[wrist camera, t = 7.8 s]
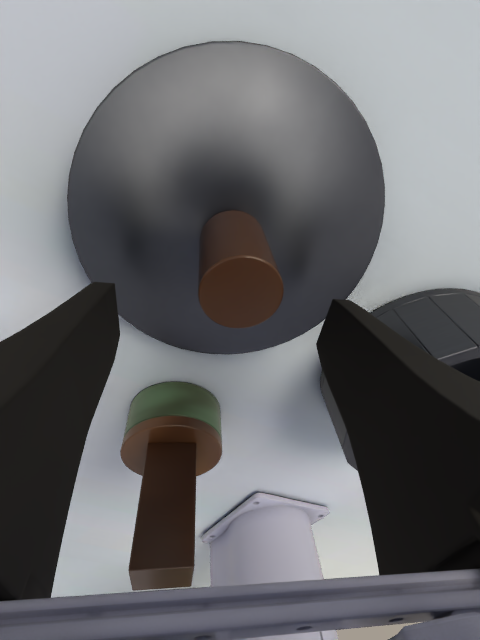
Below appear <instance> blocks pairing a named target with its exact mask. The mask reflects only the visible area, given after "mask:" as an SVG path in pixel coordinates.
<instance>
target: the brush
mask: <svg viewBox="0 0 480 640" xmlns="http://www.w3.org/2000/svg"><path fill="white" fill-rule="evenodd" d="M120 452H121V458H122V461H123V463H124V464H125V465H126V466H127V467H128V468H129V469H130V470H132V471H133V472H135V473H137V474H139V475H142V476H143V478H142V485H141V491H140V498H139V504H138V511H137V517H136V524H135V531H134V537H133V544H132V550H131V557H130V563H129V575H130V580H131V585H132V590H147V589H162V588H176V587H190V586H191V585H192V578H193V571H194V555H195V505H196V476H199V475H201V474H203V473H206V472H207V471H209V470H211V469H212V468H213V467H214V466H215V465H216V464H217V463H218V462H219V460H220V458H221V455H222V438H221V417H220V406H219V403H218V401H217V399H216V398H215V397H214V396H213V394H211V393H210V392H209V391H207V390H206V389H204V388H202V387H200V386H197V385H194V384H190V383H185V382H165V383H160V384H156V385H153V386H150V387H148V388H146V389H144V390H143V391H141V392H140V393H139V394H138V395H137V396H136V397H135V398H134V399H133V401H132V403H131V406H130V411H129V415H128V420H127V424H126V429H125V433H124V438H123V442H122V447H121V451H120Z"/></svg>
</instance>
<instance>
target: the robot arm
mask: <svg viewBox="0 0 480 640" xmlns="http://www.w3.org/2000/svg"><path fill="white" fill-rule="evenodd" d="M119 337H120V329H119V319H118V309H117V300H116V290H115V283H105V282H93V283H91V284H90V285H88V286H87V287H85V288H84V289H83V290H81V291H80V292H78V293H77V294H76V295H74V296H73V297H71V298H70V299H69V300H67V301H66V302H64V303H63V304H61V305H60V306H58V307H57V308H56V309H54V310H53V311H51V312H50V313H48V314H47V315H45V316H43V317H42V318H40V319H39V320H37V321H35V322H34V323H32V324H30V325H29V326H27V327H26V328H24V329H22V330H21V331H19V332H17V333H16V334H14V335H12V336H10V337H9V338H7V339H5V340H3V341H1V342H0V640H338V636H337V632H336V630H340V629H351V628H361V627H372V626H381V625H382V626H383V625H393V624H403V623H414V622H422V623H418V624H413V625H409V626H405V627H403V629H402V630H401V631H400V632H399V633H398V634H397V635H395V636H394V637H392V638H390V639H388V640H480V382H479V381H477V380H475V379H473V378H471V377H469V376H467V375H465V374H463V373H461V372H460V371H458V370H456V369H454V368H452V367H451V366H449V365H447V364H445V363H443V362H442V361H440V360H438V359H436V358H435V357H433V356H431V355H430V354H428V353H427V352H425V351H424V350H422V349H420V348H419V347H417V346H416V345H414V344H413V343H411V342H410V341H408V340H407V339H405V338H404V337H402V336H401V335H399V334H398V333H397V332H395V331H394V330H392V329H391V328H390V327H388V326H387V325H385V324H384V323H383V322H381V321H380V320H378V319H377V318H376V317H374V316H373V315H371V314H370V313H369V312H367V311H366V310H364V309H363V308H361V307H360V306H358V305H357V304H355V303H354V302H352V301H350V300H341V299H332V302H331V305H330V308H329V310H328V313H327V316H326V319H325V321H324V324H323V327H322V330H321V332H320V335H319V338H318V341H317V343H316V345H317V350H318V354H319V359H320V362H321V366H322V370H323V372H324V375H325V378H326V380H327V383H328V385H329V388H330V390H331V393H332V395H333V398H334V400H335V402H336V405H337V407H338V410H339V412H340V415H341V417H342V420H343V422H344V425H345V428H346V430H347V433H348V436H349V440H350V443H351V447H352V450H353V454H354V457H355V461H356V465H357V469H358V473H359V477H360V480H361V484H362V488H363V492H364V497H365V502H366V506H367V511H368V515H369V520H370V525H371V530H372V535H373V541H374V546H375V552H376V557H377V563H378V569H379V576H364V577H349V578H335V579H324V577H323V573H322V569H321V565H320V560H319V556H318V552H317V548H316V544H315V540H314V535H313V531H312V527H311V525H312V524H314V523H316V522H317V521H319V520H320V519H322V518H324V517H325V516H327V515H328V514H329V513H330V512H329V509H328V508H327V507H324V506H319V505H315V504H310V503H306V502H301V501H297V500H292V499H288V498H283V497H279V496H274V495H270V494H265V493H256V494H254V495H253V496H251V497H250V498H249V499H248V500H246V501H245V502H244V503H243V504H241V505H240V506H239V507H238V508H236V509H235V510H234V511H233V512H231V513H230V514H229V515H228V516H226V517H225V518H224V519H223V520H221V521H220V522H219V523H218V524H216V525H215V526H214V527H212V528H211V529H210V530H209V531H207V532H206V533H205V534H204V535H202V542H204V543H210V575H211V587H202V588H188V589H173V590H158V591H144V592H129V593H114V594H100V595H85V596H70V597H56V598H51V593H52V587H53V582H54V577H55V572H56V567H57V562H58V557H59V552H60V547H61V542H62V538H63V533H64V529H65V524H66V520H67V515H68V511H69V506H70V501H71V497H72V493H73V489H74V485H75V481H76V476H77V472H78V468H79V464H80V460H81V456H82V452H83V449H84V445H85V441H86V437H87V434H88V430H89V427H90V424H91V421H92V419H93V416H94V413H95V411H96V408H97V405H98V403H99V400H100V398H101V395H102V392H103V390H104V387H105V384H106V382H107V379H108V376H109V374H110V371H111V368H112V366H113V363H114V360H115V355H116V351H117V347H118V342H119ZM425 621H427V622H425Z"/></svg>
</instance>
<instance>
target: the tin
mask: <svg viewBox="0 0 480 640" xmlns="http://www.w3.org/2000/svg"><path fill="white" fill-rule="evenodd" d="M370 314H371V315H373V316H374V317H376V318H377V319H378V320H380V321H381V322H383V323H384V324H385V325H387V326H388V327H390V328H391V329H392V330H394V331H395V332H397V333H398V334H399V335H401V336H402V337H404V338H405V339H407V340H408V341H410V342H411V343H413V344H414V345H416V346H417V347H419V348H420V349H422V350H424V351H425V352H427V353H428V354H430V355H431V356H433V357H435V358H436V359H438V360H440V361H442V362H443V363H445V364H447V365H449V366H451V367H452V368H454V369H456V370H458V371H460V372H461V373H463V374H465V375H467V376H469V377H471V378H473V379H475V380H477V381H479V382H480V293H477V292H475V291H469V290H464V289H452V288H448V289H435V290H429V291H423V292H419V293H415V294H412V295H408V296H405V297H403V298H400V299H397V300H395V301H392V302H390V303H388V304H386V305H384V306H382V307H380V308H378V309H377V310H375V311H373V312H372V313H370ZM320 386H321V391H322V395H323V397H324V400H325V403H326V406H327V409H328V411H329V414H330V417H331V419H332V422H333V425H334V428H335V430H336V433H337V436H338V438H339V441H340V444H341V446H342V449H343V452H344V454H345V457H346V460H347V462H348V463H349V464H350V465H351V466H352V467H354V468H355V469H356V470H357V471H358V469H357V465H356V461H355V457H354V454H353V450H352V447H351V443H350V440H349V436H348V433H347V430H346V428H345V425H344V422H343V420H342V417H341V415H340V412H339V410H338V407H337V405H336V402H335V400H334V398H333V395H332V393H331V390H330V388H329V385H328V383H327V380H326V378H325V375H324V372H323V370H322V372H321V378H320Z"/></svg>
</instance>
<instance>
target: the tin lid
mask: <svg viewBox="0 0 480 640" xmlns="http://www.w3.org/2000/svg"><path fill="white" fill-rule="evenodd" d="M67 202H68V218H69V224H70V229H71V234H72V239H73V242H74V245H75V248H76V251H77V254H78V257H79V260H80V262H81V264H82V266H83V268H84V270H85V272H86V274H87V276H88V277H89V279H90V280H91V282H92V283H93V282H105V283H115V290H116V300H117V309H118V314H119V315H120V316H121V317H122V318H124V319H125V320H126V321H128V322H129V323H130V324H132V325H133V326H134V327H136V328H137V329H139V330H141V331H142V332H144V333H146V334H147V335H149V336H151V337H153V338H155V339H157V340H160V341H162V342H164V343H166V344H169V345H172V346H175V347H178V348H181V349H186V350H190V351H195V352H201V353H209V354H240V353H248V352H254V351H259V350H263V349H267V348H270V347H274V346H277V345H279V344H282V343H285V342H287V341H290V340H292V339H294V338H296V337H298V336H300V335H302V334H304V333H305V332H307V331H308V330H310V329H312V328H313V327H315V326H316V325H318V324H319V323H320V322H322V321H323V320H324V319H326V316H327V313H328V310H329V308H330V305H331V302H332V299H341V300H345V299H346V298H347V297H348V296H349V295H350V293H351V292H352V291H353V290H354V288H355V287H356V285H357V284H358V282H359V281H360V279H361V278H362V276H363V274H364V273H365V271H366V269H367V267H368V265H369V263H370V261H371V259H372V256H373V254H374V251H375V249H376V246H377V243H378V239H379V235H380V232H381V228H382V222H383V214H384V207H385V184H384V177H383V170H382V163H381V160H380V156H379V153H378V150H377V146H376V143H375V140H374V138H373V136H372V134H371V132H370V129H369V127H368V125H367V123H366V121H365V119H364V118H363V116H362V115H361V113H360V112H359V110H358V109H357V107H356V106H355V104H354V103H353V101H352V100H351V99H350V98H349V97H348V96H347V95H346V93H345V92H344V91H343V90H342V89H341V88H340V87H339V86H338V85H337V84H336V83H335V82H334V81H333V80H332V79H330V78H329V77H328V76H327V75H325V74H324V73H323V72H321V71H320V70H319V69H318V68H316V67H315V66H313V65H311V64H309V63H308V62H306V61H304V60H302V59H300V58H298V57H297V56H295V55H293V54H290V53H287V52H284V51H282V50H279V49H276V48H273V47H270V46H267V45H261V44H255V43H248V42H242V41H212V42H206V43H201V44H196V45H191V46H185V47H182V48H179V49H177V50H174V51H171V52H169V53H166V54H164V55H161V56H158V57H156V58H155V59H153V60H151V61H150V62H148V63H146V64H145V65H143V66H141V67H139V68H138V69H136V70H134V71H133V72H132V73H131V74H130V75H128V76H127V77H126V78H125V79H124V80H123V81H121V82H120V83H119V84H118V85H117V86H115V87H114V88H113V89H112V91H111V92H110V93H109V94H108V95H107V96H106V98H105V99H104V100H103V101H102V102H101V103H100V105H99V106H98V107H97V108H96V110H95V112H94V113H93V115H92V117H91V118H90V120H89V122H88V123H87V125H86V127H85V128H84V130H83V133H82V135H81V137H80V140H79V142H78V145H77V147H76V150H75V152H74V156H73V161H72V165H71V169H70V174H69V182H68V195H67Z"/></svg>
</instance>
